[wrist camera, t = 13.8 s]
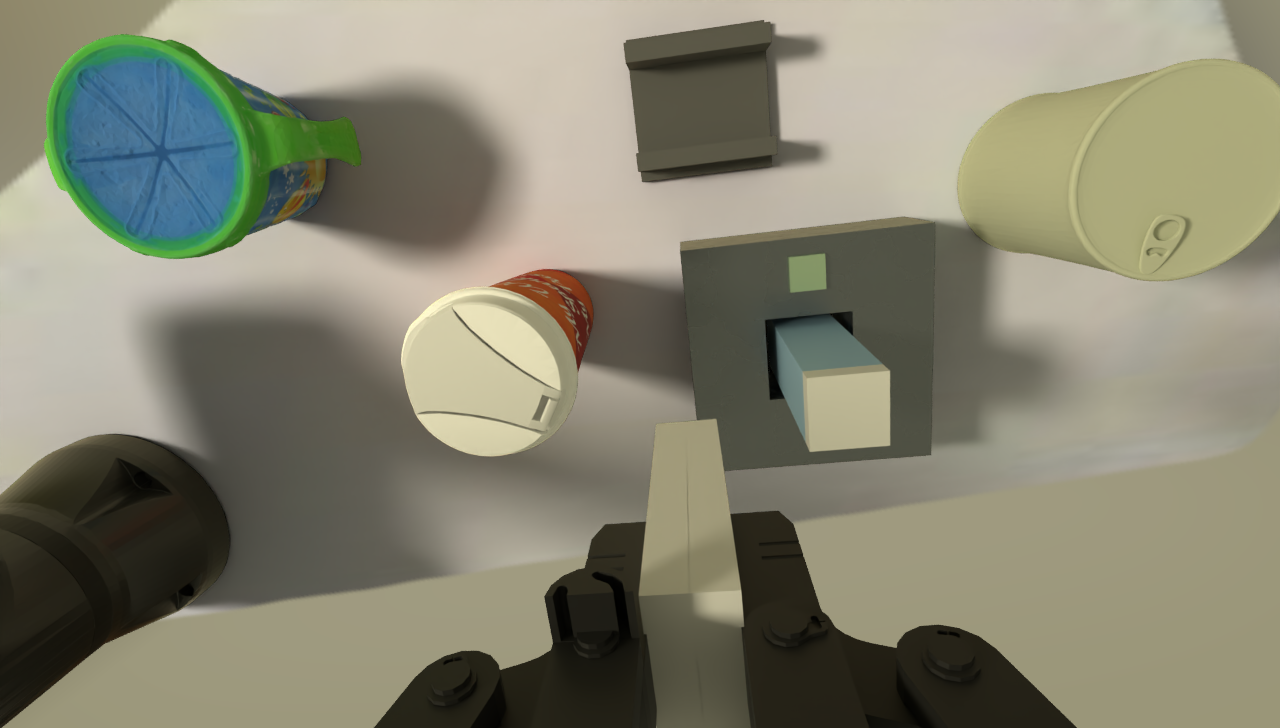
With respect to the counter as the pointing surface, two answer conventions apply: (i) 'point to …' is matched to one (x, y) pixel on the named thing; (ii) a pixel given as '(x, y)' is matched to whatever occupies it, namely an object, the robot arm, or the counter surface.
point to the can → (1131, 171)
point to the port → (800, 286)
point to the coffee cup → (499, 362)
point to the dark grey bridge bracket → (701, 100)
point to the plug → (830, 383)
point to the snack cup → (181, 148)
